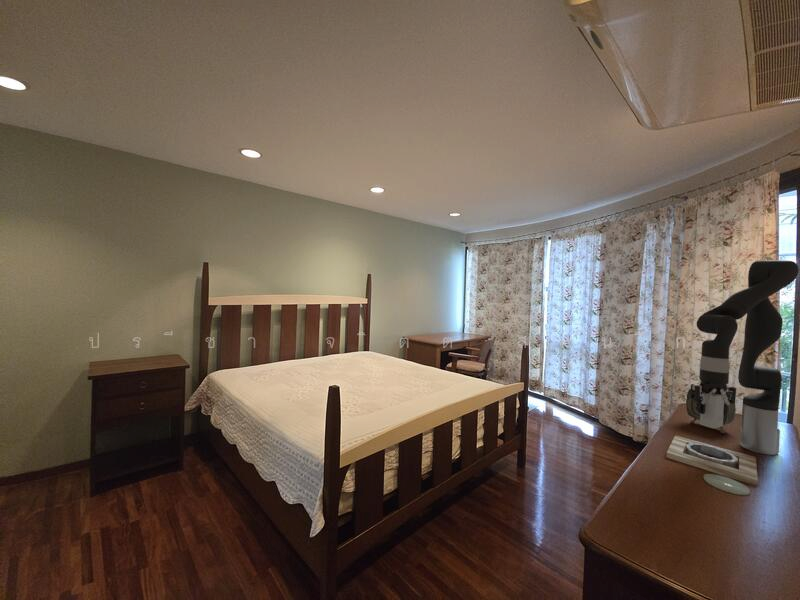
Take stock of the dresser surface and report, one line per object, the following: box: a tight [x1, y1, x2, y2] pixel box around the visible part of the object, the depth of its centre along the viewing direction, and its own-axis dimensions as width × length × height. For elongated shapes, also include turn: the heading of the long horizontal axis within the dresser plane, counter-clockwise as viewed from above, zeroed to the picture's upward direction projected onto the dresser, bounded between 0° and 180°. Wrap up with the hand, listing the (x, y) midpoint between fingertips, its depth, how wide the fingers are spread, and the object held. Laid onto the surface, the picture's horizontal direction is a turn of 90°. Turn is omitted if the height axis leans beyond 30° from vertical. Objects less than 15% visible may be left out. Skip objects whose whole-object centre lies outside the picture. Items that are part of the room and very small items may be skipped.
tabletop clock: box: [685, 388, 737, 435], centre depth 142 cm, size 14×9×25 cm, turn 23°
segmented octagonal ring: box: [685, 443, 739, 469], centre depth 113 cm, size 13×13×3 cm
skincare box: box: [699, 393, 724, 429], centre depth 113 cm, size 6×4×12 cm
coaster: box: [703, 473, 751, 496], centre depth 97 cm, size 10×10×1 cm
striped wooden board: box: [666, 435, 759, 487], centre depth 113 cm, size 22×22×2 cm
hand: (711, 413), depth 113 cm, fingers closed on skincare box, 7 cm apart
